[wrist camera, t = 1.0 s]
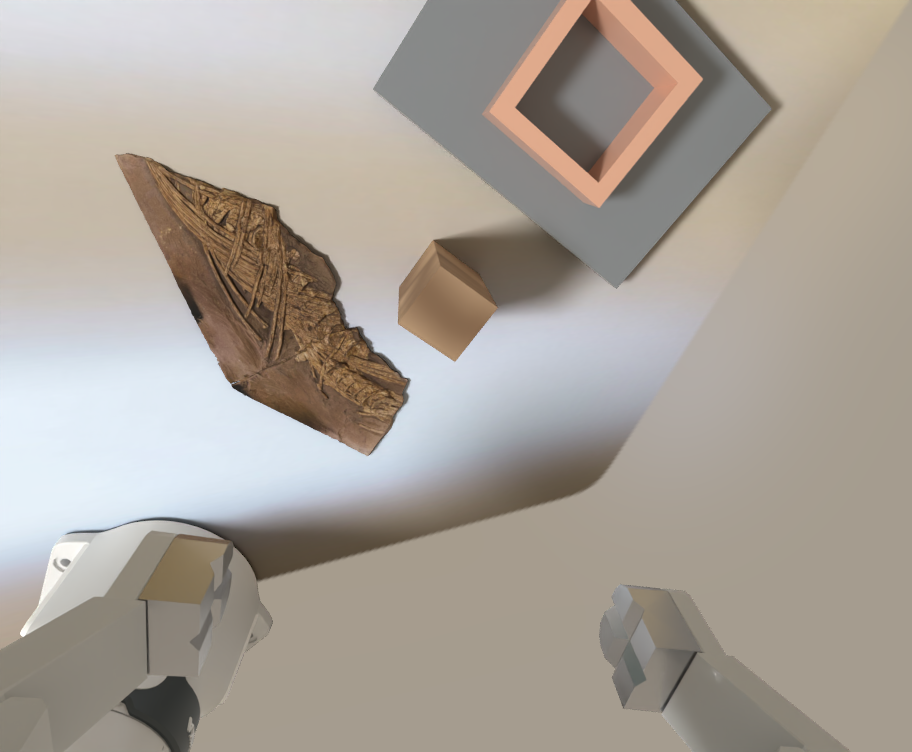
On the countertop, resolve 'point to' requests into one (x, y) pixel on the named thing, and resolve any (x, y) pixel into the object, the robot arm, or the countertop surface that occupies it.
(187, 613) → the robot arm
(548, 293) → the countertop surface
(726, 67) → the stand
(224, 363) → the wooden fragment
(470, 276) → the brown wooden block
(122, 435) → the countertop surface
